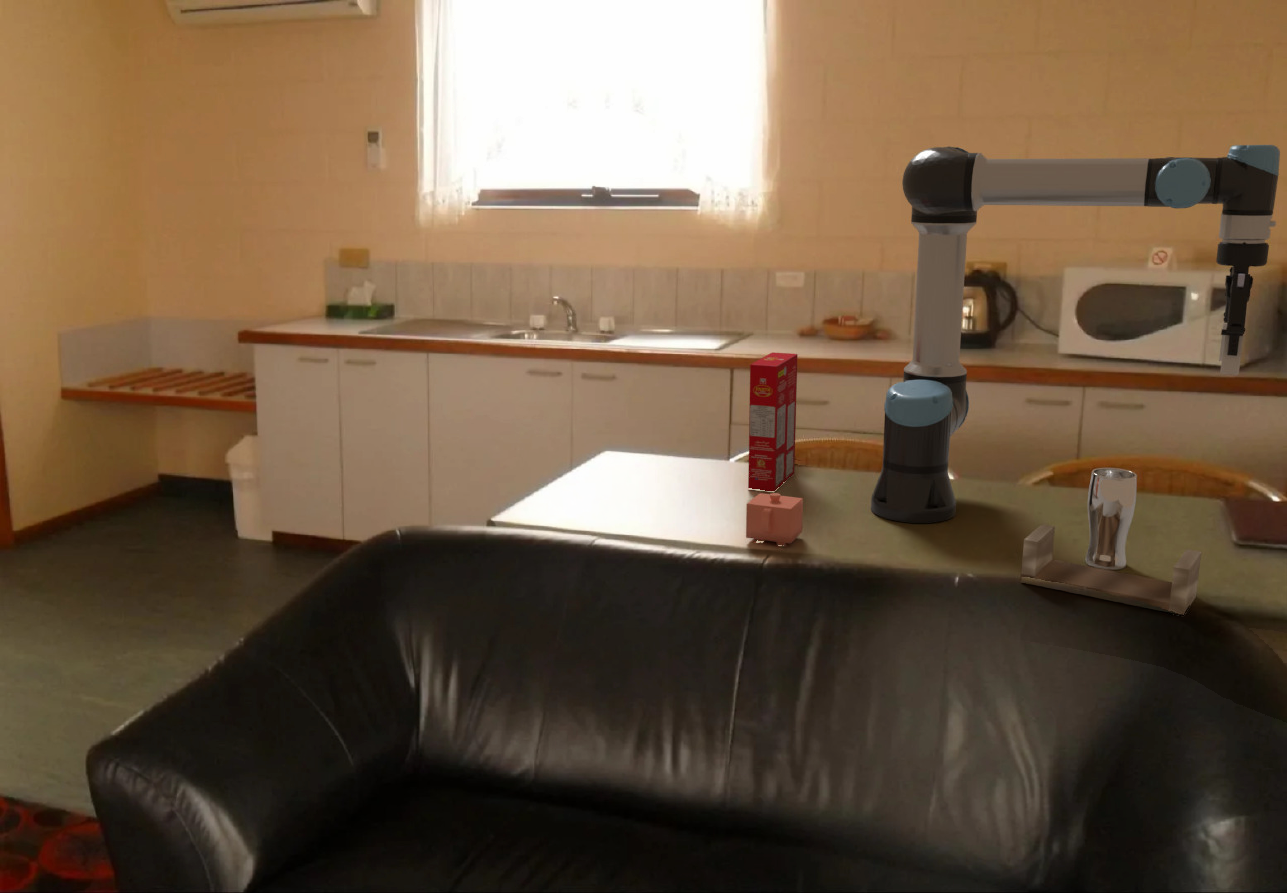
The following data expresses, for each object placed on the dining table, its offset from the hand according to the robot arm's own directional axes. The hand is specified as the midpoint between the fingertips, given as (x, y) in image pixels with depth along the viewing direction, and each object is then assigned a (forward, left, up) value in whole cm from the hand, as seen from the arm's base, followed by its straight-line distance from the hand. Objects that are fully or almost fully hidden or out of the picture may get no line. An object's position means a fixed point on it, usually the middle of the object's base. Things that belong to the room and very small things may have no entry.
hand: (1228, 367), depth 193 cm
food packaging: (-79, -5, -28) cm, 84 cm away
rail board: (-14, -40, -28) cm, 51 cm away
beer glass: (-15, -28, -28) cm, 43 cm away
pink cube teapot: (-67, -38, -28) cm, 82 cm away
